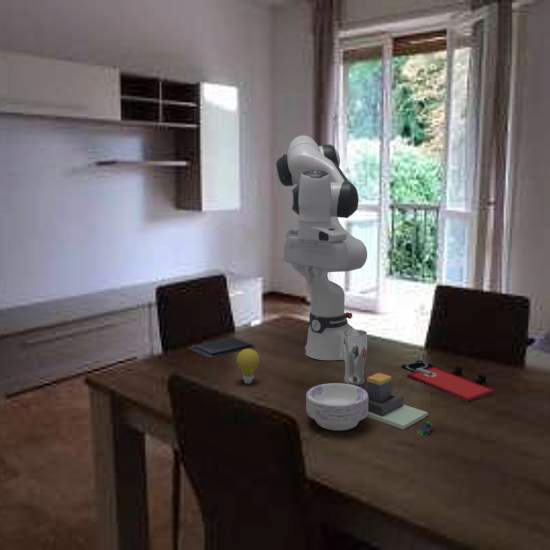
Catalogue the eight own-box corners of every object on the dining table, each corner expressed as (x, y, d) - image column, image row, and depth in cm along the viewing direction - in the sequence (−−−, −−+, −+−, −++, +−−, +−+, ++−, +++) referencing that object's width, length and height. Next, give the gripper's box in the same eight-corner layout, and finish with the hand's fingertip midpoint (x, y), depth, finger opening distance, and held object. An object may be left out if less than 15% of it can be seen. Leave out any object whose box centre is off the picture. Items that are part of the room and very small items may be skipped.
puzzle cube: (421, 428, 146) (421, 419, 145) (432, 431, 144) (432, 422, 144) (414, 434, 142) (415, 425, 142) (426, 438, 141) (426, 428, 140)
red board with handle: (423, 361, 193) (389, 371, 185) (423, 353, 193) (389, 362, 185) (503, 392, 169) (468, 404, 161) (504, 382, 168) (468, 394, 160)
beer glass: (339, 384, 174) (340, 334, 171) (345, 376, 180) (346, 328, 177) (363, 387, 171) (364, 336, 168) (368, 379, 178) (369, 330, 175)
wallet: (208, 355, 196) (185, 344, 207) (208, 360, 196) (185, 349, 208) (257, 344, 208) (233, 334, 219) (257, 349, 208) (233, 339, 220)
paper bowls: (305, 410, 155) (305, 381, 154) (364, 411, 155) (364, 381, 153) (306, 436, 140) (306, 404, 139) (371, 437, 140) (372, 405, 139)
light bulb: (256, 386, 171) (256, 353, 170) (234, 385, 173) (233, 352, 171) (261, 378, 178) (261, 346, 176) (240, 377, 179) (239, 345, 177)
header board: (357, 392, 167) (357, 381, 166) (427, 416, 152) (428, 403, 151) (332, 404, 159) (332, 391, 158) (403, 429, 144) (404, 416, 143)
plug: (377, 401, 158) (378, 372, 157) (390, 405, 156) (391, 376, 154) (366, 406, 155) (367, 377, 153) (379, 411, 152) (380, 381, 151)
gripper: (278, 229, 165) (278, 279, 168) (336, 236, 151) (335, 289, 154) (294, 228, 169) (293, 276, 172) (351, 234, 155) (350, 286, 158)
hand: (314, 282), depth 163 cm, fingers closed
